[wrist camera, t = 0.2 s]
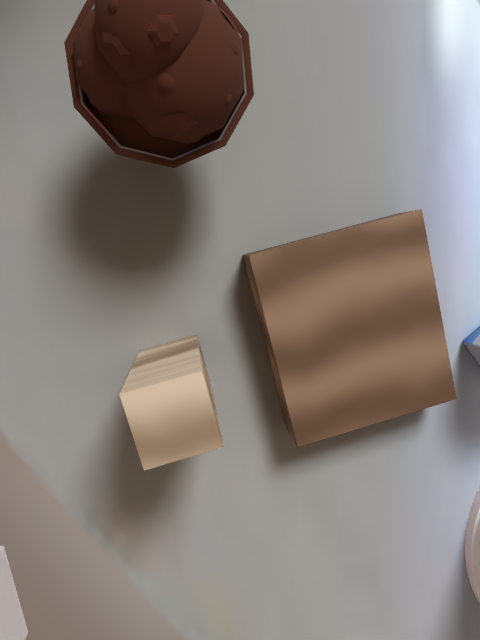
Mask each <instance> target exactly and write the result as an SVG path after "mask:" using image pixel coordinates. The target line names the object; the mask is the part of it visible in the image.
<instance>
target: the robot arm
mask: <svg viewBox="0 0 480 640" xmlns="http://www.w3.org/2000/svg"><path fill="white" fill-rule="evenodd" d="M27 633H28V630H27V627H26V623H25V620H24V616H23V613H22V609H21V605H20V602H19V599H18V595H17V591H16V588H15V584H14V581H13V578H12V574H11V570H10V567H9V563H8V560H7V556H6V552H5V549H4V546H0V640H25V638H26V636H27Z"/></svg>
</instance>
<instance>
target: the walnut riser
mask: <svg viewBox="0 0 480 640" xmlns="http://www.w3.org/2000/svg"><path fill="white" fill-rule="evenodd" d="M243 259H244V263H245V267H246V271H247V274H248V278H249V282H250V286H251V290H252V294H253V298H254V302H255V306H256V310H257V313H258V317H259V321H260V325H261V329H262V333H263V337H264V341H265V345H266V348H267V352H268V356H269V360H270V364H271V368H272V372H273V376H274V380H275V383H276V387H277V391H278V395H279V399H280V403H281V407H282V411H283V415H284V419H285V422H286V426H287V429H288V431H289V433H290V434H291V436H292V438H293V440H294V441H295V443H296V445H297V447H300V446H303V445H307V444H310V443H313V442H317V441H320V440H323V439H326V438H330V437H333V436H336V435H340V434H343V433H346V432H349V431H353V430H356V429H359V428H363V427H366V426H369V425H372V424H376V423H379V422H382V421H386V420H389V419H392V418H395V417H399V416H402V415H405V414H409V413H412V412H415V411H418V410H422V409H425V408H428V407H432V406H435V405H438V404H442V403H445V402H448V401H451V400H455V399H456V393H455V388H454V383H453V377H452V372H451V366H450V361H449V355H448V350H447V344H446V339H445V334H444V328H443V323H442V317H441V312H440V306H439V301H438V295H437V290H436V285H435V279H434V274H433V268H432V263H431V257H430V252H429V247H428V241H427V236H426V230H425V225H424V219H423V214H422V209H421V210H415V211H410V212H404V213H399V214H395V215H391V216H387V217H383V218H380V219H376V220H372V221H368V222H365V223H361V224H357V225H354V226H350V227H346V228H342V229H339V230H335V231H331V232H327V233H324V234H320V235H316V236H312V237H309V238H305V239H301V240H298V241H294V242H290V243H286V244H283V245H279V246H275V247H271V248H268V249H264V250H260V251H256V252H253V253H249V254H245V255H243Z"/></svg>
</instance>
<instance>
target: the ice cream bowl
mask: <svg viewBox="0 0 480 640" xmlns="http://www.w3.org/2000/svg"><path fill="white" fill-rule="evenodd" d="M65 50H66V57H67V63H68V70H69V77H70V83H71V90H72V97H73V104H74V107H75V109H76V110H77V111H78V112H79V113H80V114H81V115H82V116H83V118H84V119H85V120H86V121H87V122H88V123H89V124H90V125H91V126H92V128H93V129H94V130H95V131H96V132H97V133H98V134H99V135H100V137H101V138H102V139H103V140H104V141H105V142H106V143H107V144H108V145H109V147H110V148H111V149H112V150H113V151H114V152H115V153H116V154H118V155H122V156H126V157H130V158H134V159H139V160H143V161H147V162H151V163H155V164H159V165H163V166H167V167H171V168H175V167H177V166H180V165H182V164H184V163H186V162H189V161H191V160H193V159H196V158H198V157H200V156H203V155H205V154H207V153H209V152H212V151H214V150H216V149H219V148H221V147H223V146H225V145H226V144H227V142H228V140H229V138H230V136H231V135H232V133H233V131H234V129H235V128H236V126H237V124H238V122H239V120H240V119H241V117H242V115H243V113H244V111H245V110H246V108H247V106H248V104H249V103H250V101H251V99H252V97H253V95H254V92H253V80H252V69H251V58H250V47H249V35H248V32H247V31H246V30H245V28H244V27H243V26H242V24H241V23H240V22H239V21H238V19H237V18H236V17H235V15H234V14H233V13H232V12H231V10H230V9H229V8H228V6H227V5H226V4H225V3H224V1H223V0H87V1H86V3H85V5H84V7H83V8H82V10H81V12H80V14H79V16H78V18H77V20H76V22H75V24H74V26H73V28H72V29H71V31H70V33H69V35H68V37H67V39H66V41H65Z"/></svg>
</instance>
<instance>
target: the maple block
mask: <svg viewBox="0 0 480 640" xmlns="http://www.w3.org/2000/svg"><path fill="white" fill-rule="evenodd" d="M119 395H120V398H121V401H122V404H123V407H124V410H125V414H126V417H127V420H128V423H129V426H130V429H131V432H132V435H133V438H134V441H135V445H136V448H137V451H138V454H139V457H140V460H141V463H142V466H143V469H144V471H145V470H148V469H151V468H155V467H158V466H161V465H165V464H168V463H171V462H175V461H178V460H181V459H185V458H188V457H191V456H195V455H198V454H201V453H205V452H208V451H211V450H215V449H218V448H221V447H223V441H222V436H221V431H220V426H219V421H218V416H217V411H216V406H215V401H214V396H213V390H212V386H211V383H210V379H209V376H208V372H207V369H206V365H205V362H204V358H203V355H202V351H201V348H200V344H199V341H198V337H197V335H194V336H190V337H187V338H183V339H180V340H176V341H172V342H169V343H165V344H162V345H158V346H155V347H151V348H147V349H144V350H140V351H139V353H138V355H137V357H136V360H135V362H134V364H133V366H132V368H131V370H130V372H129V375H128V377H127V379H126V381H125V383H124V385H123V388H122V390H121V392H120V394H119Z"/></svg>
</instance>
